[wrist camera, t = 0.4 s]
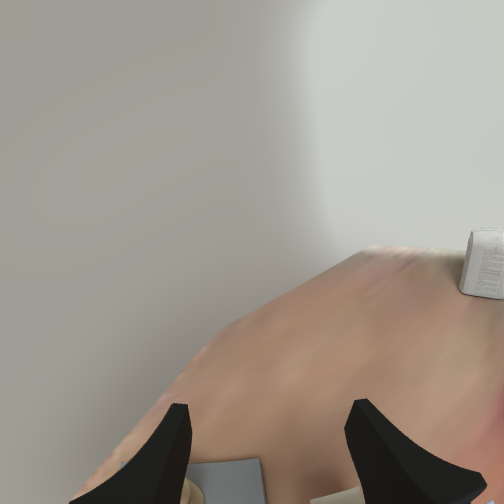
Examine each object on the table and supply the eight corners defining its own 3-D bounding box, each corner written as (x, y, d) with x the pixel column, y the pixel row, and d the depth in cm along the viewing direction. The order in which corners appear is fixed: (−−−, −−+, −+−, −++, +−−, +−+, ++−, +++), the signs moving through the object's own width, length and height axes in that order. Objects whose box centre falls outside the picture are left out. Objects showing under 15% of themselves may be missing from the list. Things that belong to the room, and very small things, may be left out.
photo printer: (502, 288, 38) (516, 228, 33) (505, 301, 35) (523, 238, 30) (458, 282, 44) (468, 221, 38) (458, 295, 41) (471, 231, 35)
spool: (206, 529, 17) (188, 522, 15) (144, 525, 17) (120, 514, 14) (204, 477, 22) (189, 461, 20) (148, 476, 22) (128, 460, 20)
